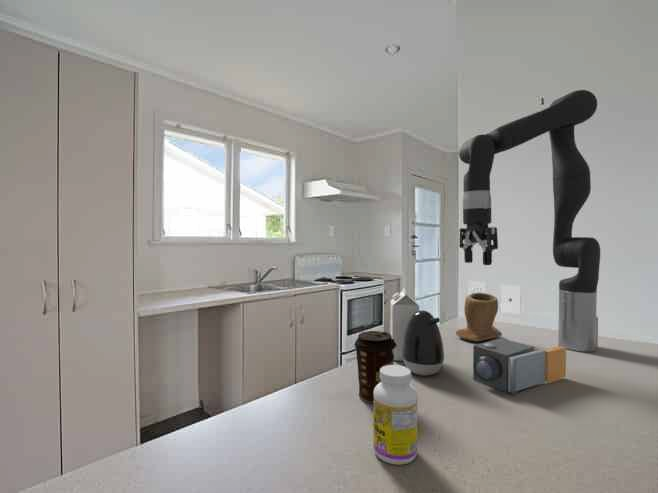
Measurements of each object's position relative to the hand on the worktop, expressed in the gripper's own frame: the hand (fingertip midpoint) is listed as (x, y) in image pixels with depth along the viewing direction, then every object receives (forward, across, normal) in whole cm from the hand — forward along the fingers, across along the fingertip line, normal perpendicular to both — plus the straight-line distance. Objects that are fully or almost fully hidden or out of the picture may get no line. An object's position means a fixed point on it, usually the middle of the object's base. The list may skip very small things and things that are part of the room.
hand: (477, 263), depth 100 cm
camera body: (+25, +20, -9) cm, 33 cm away
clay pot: (+26, -11, +9) cm, 30 cm away
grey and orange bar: (+25, +24, -2) cm, 35 cm away
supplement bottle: (+24, +40, -43) cm, 63 cm away
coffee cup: (+24, +21, -40) cm, 51 cm away
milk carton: (+25, 0, -23) cm, 34 cm away
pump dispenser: (+25, +11, -23) cm, 36 cm away
